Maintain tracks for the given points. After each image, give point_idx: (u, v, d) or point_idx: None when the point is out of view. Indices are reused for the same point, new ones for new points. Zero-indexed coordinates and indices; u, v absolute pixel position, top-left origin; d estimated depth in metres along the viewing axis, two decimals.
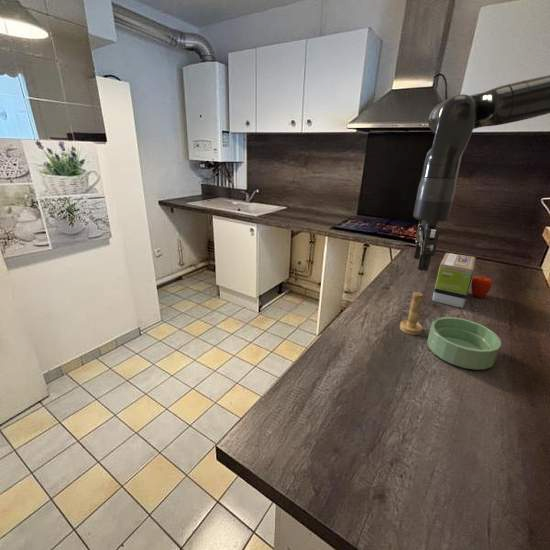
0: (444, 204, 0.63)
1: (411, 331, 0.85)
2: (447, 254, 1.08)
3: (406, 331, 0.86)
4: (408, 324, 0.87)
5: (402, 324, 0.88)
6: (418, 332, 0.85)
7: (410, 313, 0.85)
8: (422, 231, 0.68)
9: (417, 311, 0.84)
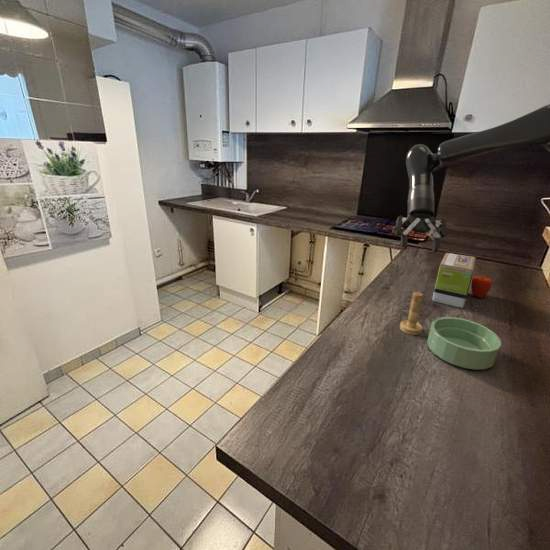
0: (411, 201, 0.91)
1: (411, 331, 0.85)
2: (447, 254, 1.08)
3: (406, 331, 0.86)
4: (408, 324, 0.87)
5: (402, 324, 0.88)
6: (418, 332, 0.85)
7: (410, 313, 0.85)
8: None
9: (417, 311, 0.84)
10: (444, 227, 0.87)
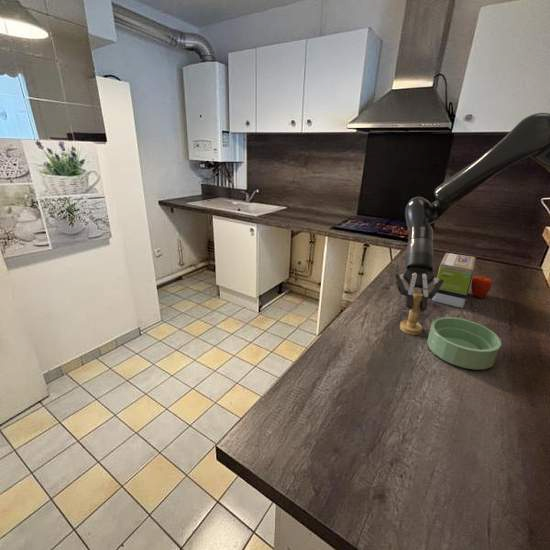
0: (408, 255, 0.88)
1: (411, 331, 0.85)
2: (447, 254, 1.08)
3: (406, 331, 0.86)
4: (408, 324, 0.87)
5: (402, 324, 0.88)
6: (418, 332, 0.85)
7: (410, 313, 0.85)
8: None
9: (417, 311, 0.84)
10: (437, 287, 0.83)
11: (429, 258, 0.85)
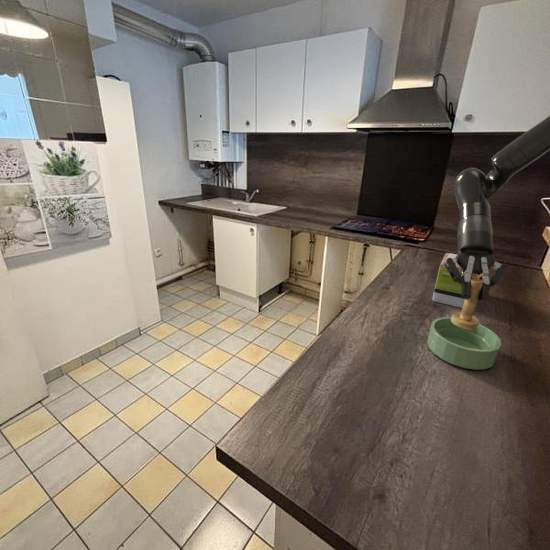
0: (462, 235, 0.74)
1: (467, 325, 0.71)
2: (447, 254, 1.08)
3: (460, 325, 0.72)
4: (462, 317, 0.73)
5: (454, 317, 0.74)
6: (475, 326, 0.72)
7: (466, 304, 0.72)
8: None
9: (475, 301, 0.71)
10: (500, 272, 0.69)
11: (489, 238, 0.71)
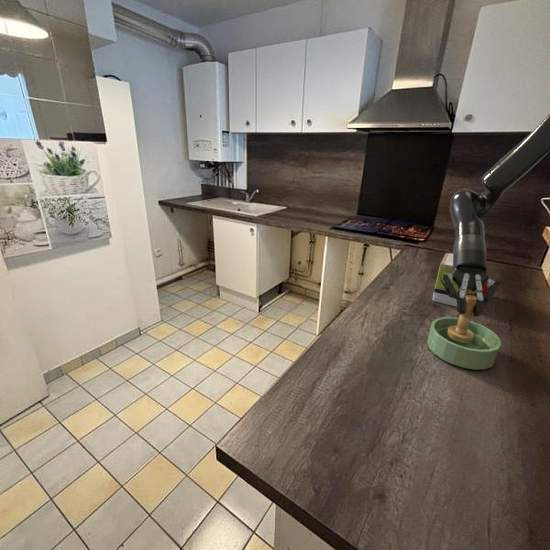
0: (457, 253, 0.79)
1: (462, 339, 0.76)
2: (447, 254, 1.08)
3: (456, 338, 0.77)
4: (458, 331, 0.77)
5: (450, 330, 0.78)
6: (470, 340, 0.76)
7: (461, 318, 0.76)
8: None
9: (470, 316, 0.75)
10: (493, 289, 0.74)
11: (483, 257, 0.76)
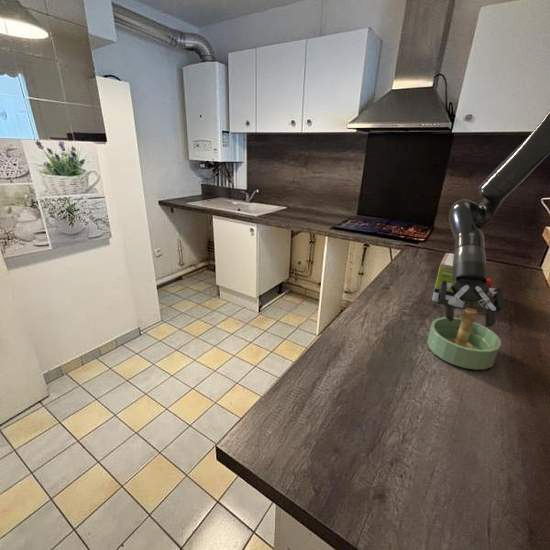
0: (457, 264, 0.78)
1: None
2: (447, 254, 1.08)
3: None
4: (457, 344, 0.77)
5: None
6: None
7: (460, 332, 0.76)
8: None
9: (469, 330, 0.74)
10: (500, 297, 0.73)
11: (483, 268, 0.75)
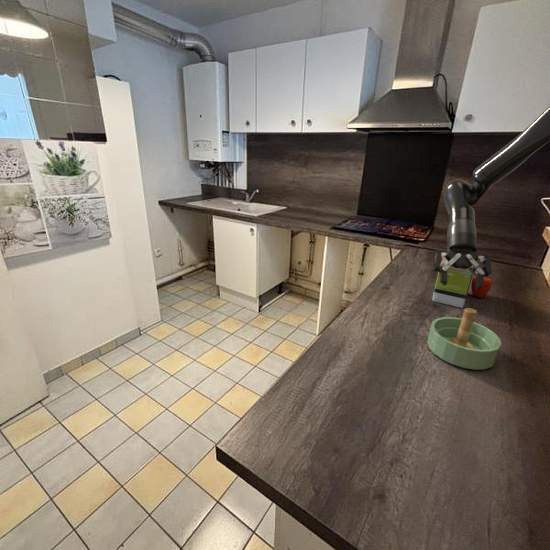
0: (450, 236, 0.88)
1: None
2: None
3: None
4: (457, 344, 0.77)
5: None
6: None
7: (460, 332, 0.76)
8: None
9: (469, 330, 0.74)
10: (488, 263, 0.83)
11: (473, 238, 0.85)
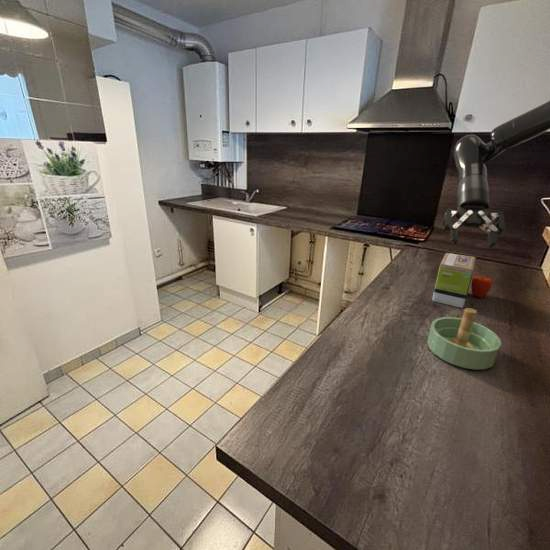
0: (461, 193, 0.83)
1: None
2: (447, 254, 1.08)
3: None
4: (457, 344, 0.77)
5: None
6: None
7: (460, 332, 0.76)
8: None
9: (469, 330, 0.74)
10: (502, 219, 0.78)
11: (485, 194, 0.80)
